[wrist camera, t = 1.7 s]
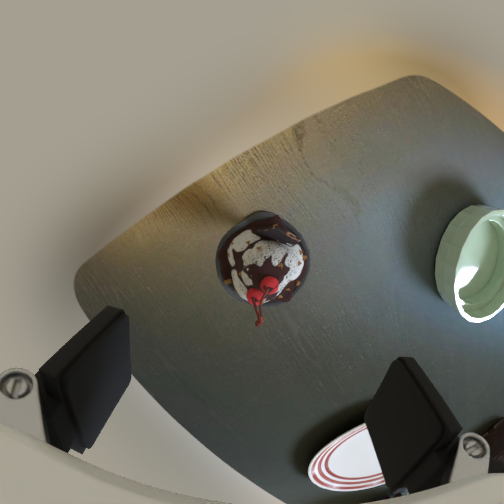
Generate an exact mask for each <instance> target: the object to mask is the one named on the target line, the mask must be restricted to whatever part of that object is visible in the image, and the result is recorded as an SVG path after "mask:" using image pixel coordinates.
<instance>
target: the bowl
mask: <svg viewBox="0 0 504 504" xmlns="http://www.w3.org/2000/svg"><path fill="white" fill-rule="evenodd" d="M435 278H436V284H437V289H438V292H439V293H440V295H441V297H442V299H443V301H444V302H446V303H447V304H448V305H449V306H450V307H452V308H453V309H454V310H455V311H457V312H458V313H459V314H460V315H461V316H463V317H464V318H465V319H467V320H468V321H469V322H482V321H485V320H488V319H490V318H492V317H493V316H494V315H496V314H497V313H498V312H499V311H501V310H502V308H503V307H504V210H503V209H498V208H494V207H490V206H485V205H471V206H469V207H467V208H466V209H464V210H462V211H460V212H459V213H458V214H457V215H456V217H455V218H454V219H453V220H452V221H451V222H450V224H449V225H448V227H447V229H446V231H445V233H444V235H443V237H442V238H441V241H440V245H439V249H438V252H437V256H436V265H435Z"/></svg>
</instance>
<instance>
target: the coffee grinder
mask: <svg viewBox="0 0 504 504" xmlns="http://www.w3.org/2000/svg"><path fill="white" fill-rule="evenodd" d="M482 437H483V438H484V439H485V440H486V442H487V443H488V445H489V448H490V457H491V458H493V459H496V460H498V461H501V462H503V463H504V417H503V418H502V419H501V420H500V421H499V422H497V423H496V424H495V425H494V426H493V427H491V428H490V429H489V430H488V431H487V432H486V433H485V434H483V435H482Z"/></svg>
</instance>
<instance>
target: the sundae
mask: <svg viewBox="0 0 504 504" xmlns="http://www.w3.org/2000/svg"><path fill="white" fill-rule="evenodd" d="M216 269H217V274H218V278H219V279H220V281H221V283H222V285H223V287H224V288H225V289H226V291H227V292H228V293H229V294H231V295H232V296H233V297H234V298H236V299H238V300H239V301H242V302H244V303H247V304H251V305H254V308H255V312H256V314H257V316H258V320H257V321H256V322H255V325H256V326H257V327H260V326H261V324H262V323H263V321H264V319H263V317H262V312H261V307H269V306H277V305H279V304H282V303H284V302H289V301H290V300H291V298H293V297H294V296H295V295H296V294H297V293H298V292H299V290H300V289H301V288H302V286H303V285H304V283H305V281H306V279H307V276H308V274H309V270H310V253H309V249H308V247H307V244H306V242H305V240H304V239H303V237H302V235H301V234H300V233H299V232H298V231H297V230H296V229H295V228H294V227H293V226H292V225H291V224H290V223H288V222H287V221H285V220H283V219H281V218H280V217H279V216H278V215H275V214H273V213H270V212H257V213H254V214H252V215H251V216H249V217H248V218H247V219H246V220H244V221H242V222H240V223H238V224H237V225H235V226H233V227H232V228H231V229H230V230H229V231H228V232H227V233H226V234H225V235H224V236H223V238H222V239H221V241H220V243H219V245H218V248H217V252H216ZM257 306H259V312H260V316H259V313H258V311H257Z"/></svg>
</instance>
